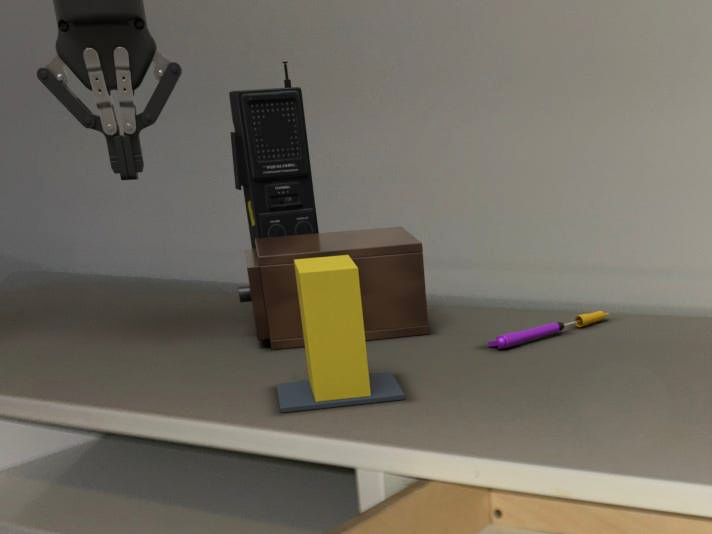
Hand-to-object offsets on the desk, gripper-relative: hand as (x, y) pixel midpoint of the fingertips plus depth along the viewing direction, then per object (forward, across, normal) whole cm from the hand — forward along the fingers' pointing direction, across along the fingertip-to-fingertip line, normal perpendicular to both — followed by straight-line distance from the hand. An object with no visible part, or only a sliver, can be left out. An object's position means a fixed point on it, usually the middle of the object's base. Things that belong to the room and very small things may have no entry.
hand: (129, 179), depth 99 cm
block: (+15, -16, +23) cm, 32 cm away
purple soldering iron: (+16, -38, +9) cm, 42 cm away
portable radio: (+16, -14, -15) cm, 26 cm away
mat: (+16, -16, +23) cm, 32 cm away
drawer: (+15, -16, -3) cm, 22 cm away
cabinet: (+16, -19, -3) cm, 25 cm away
